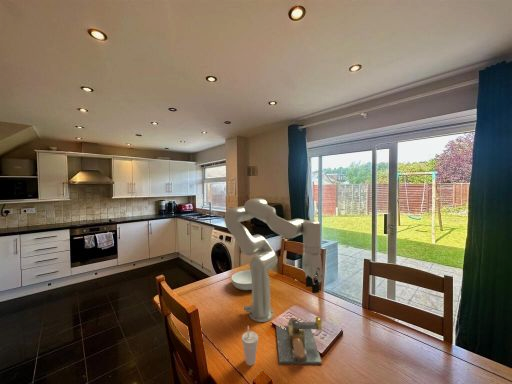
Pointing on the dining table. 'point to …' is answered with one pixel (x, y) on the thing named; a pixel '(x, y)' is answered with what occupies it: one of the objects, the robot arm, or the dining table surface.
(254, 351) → the smoothie
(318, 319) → the lever
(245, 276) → the serving bowl
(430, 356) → the dining table surface
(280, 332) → the valve body
